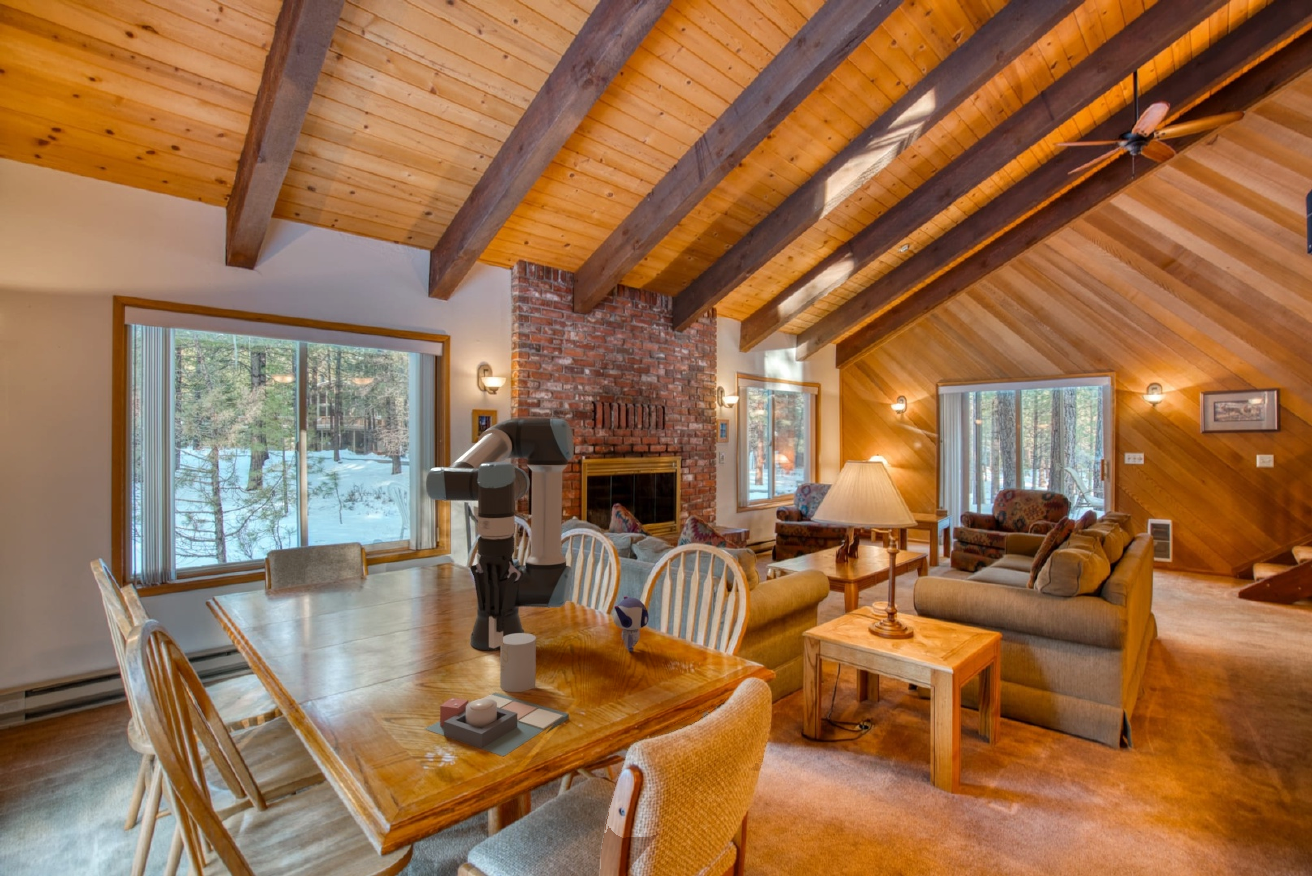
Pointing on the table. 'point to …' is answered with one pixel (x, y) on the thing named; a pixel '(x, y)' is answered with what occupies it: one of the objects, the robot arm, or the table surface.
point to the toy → (630, 620)
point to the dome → (481, 712)
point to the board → (502, 725)
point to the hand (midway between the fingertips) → (496, 645)
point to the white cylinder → (518, 662)
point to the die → (451, 709)
